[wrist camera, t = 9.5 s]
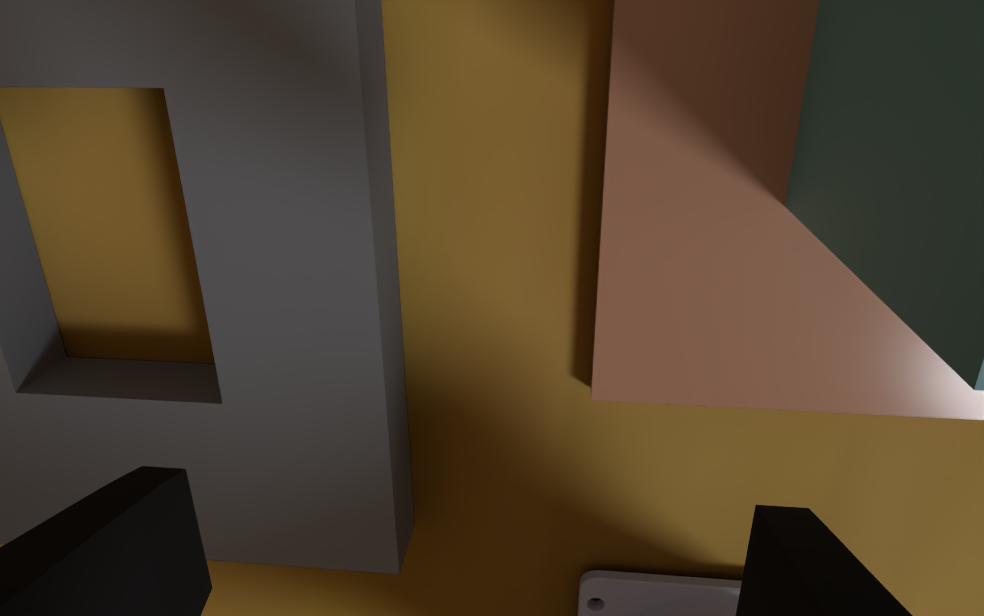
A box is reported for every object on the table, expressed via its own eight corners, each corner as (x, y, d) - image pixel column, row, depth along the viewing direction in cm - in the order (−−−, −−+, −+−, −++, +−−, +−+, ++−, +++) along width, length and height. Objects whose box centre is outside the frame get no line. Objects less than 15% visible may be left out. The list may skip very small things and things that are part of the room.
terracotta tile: (1078, 412, 17) (1095, 425, 17) (590, 388, 18) (590, 400, 18) (1421, -468, 11) (1465, -493, 10) (638, -417, 12) (641, -437, 12)
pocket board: (414, 524, 21) (399, 574, 19) (-15, 495, 22) (-67, 538, 21) (368, -198, 14) (336, -228, 12) (-262, -175, 15) (-377, -200, 13)
